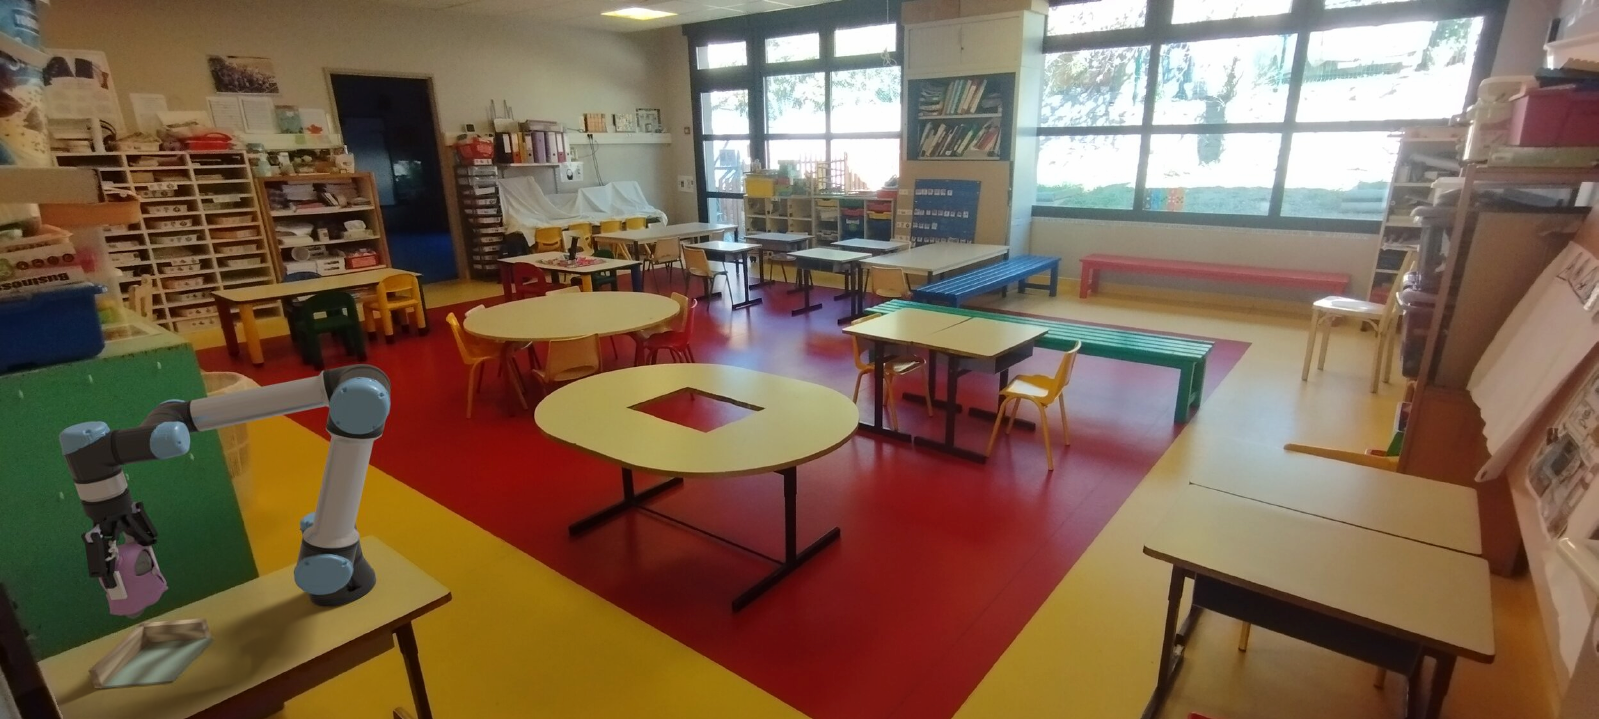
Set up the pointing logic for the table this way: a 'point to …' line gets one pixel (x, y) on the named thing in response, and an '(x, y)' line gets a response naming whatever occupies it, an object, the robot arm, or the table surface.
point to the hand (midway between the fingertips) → (136, 584)
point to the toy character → (135, 578)
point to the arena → (152, 654)
